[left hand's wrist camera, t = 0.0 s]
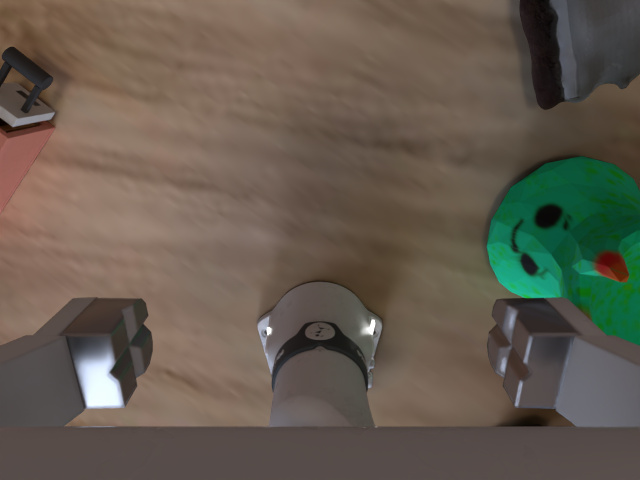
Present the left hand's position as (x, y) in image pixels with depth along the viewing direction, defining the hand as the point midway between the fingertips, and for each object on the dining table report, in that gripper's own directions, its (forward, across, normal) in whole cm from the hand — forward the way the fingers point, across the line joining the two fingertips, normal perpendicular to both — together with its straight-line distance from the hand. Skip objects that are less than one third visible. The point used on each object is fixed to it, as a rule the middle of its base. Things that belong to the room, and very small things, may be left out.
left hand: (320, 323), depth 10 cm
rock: (+48, +28, +10) cm, 57 cm away
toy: (+48, +33, -15) cm, 60 cm away
